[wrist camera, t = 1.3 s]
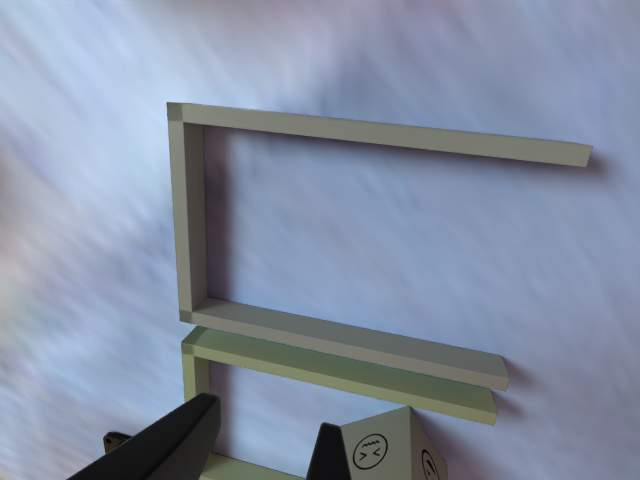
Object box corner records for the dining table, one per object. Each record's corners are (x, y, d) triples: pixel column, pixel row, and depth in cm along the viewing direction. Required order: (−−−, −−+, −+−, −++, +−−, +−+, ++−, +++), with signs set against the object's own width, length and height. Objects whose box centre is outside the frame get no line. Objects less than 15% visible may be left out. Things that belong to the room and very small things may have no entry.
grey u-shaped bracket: (444, 526, 24) (447, 556, 23) (202, 457, 27) (189, 479, 26) (489, 389, 20) (497, 414, 18) (197, 325, 23) (181, 342, 21)
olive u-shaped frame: (497, 367, 19) (505, 391, 18) (196, 305, 22) (179, 321, 21) (572, 142, 15) (593, 146, 13) (188, 103, 18) (166, 102, 16)
